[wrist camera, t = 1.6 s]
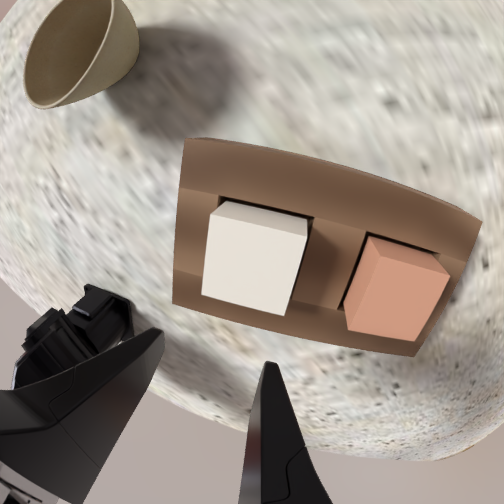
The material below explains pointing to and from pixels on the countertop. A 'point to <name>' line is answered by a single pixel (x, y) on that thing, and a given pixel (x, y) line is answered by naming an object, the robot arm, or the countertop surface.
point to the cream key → (253, 256)
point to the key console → (312, 234)
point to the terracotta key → (393, 290)
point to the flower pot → (79, 51)
